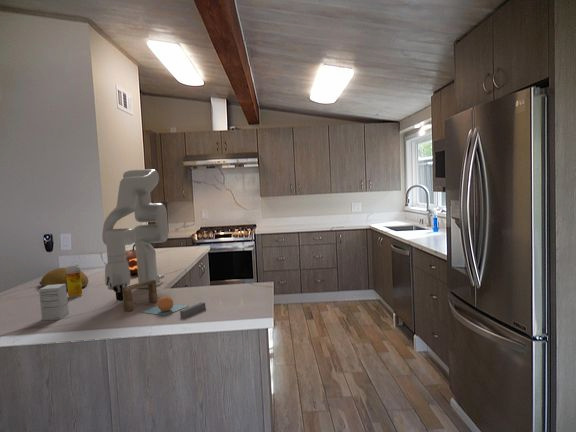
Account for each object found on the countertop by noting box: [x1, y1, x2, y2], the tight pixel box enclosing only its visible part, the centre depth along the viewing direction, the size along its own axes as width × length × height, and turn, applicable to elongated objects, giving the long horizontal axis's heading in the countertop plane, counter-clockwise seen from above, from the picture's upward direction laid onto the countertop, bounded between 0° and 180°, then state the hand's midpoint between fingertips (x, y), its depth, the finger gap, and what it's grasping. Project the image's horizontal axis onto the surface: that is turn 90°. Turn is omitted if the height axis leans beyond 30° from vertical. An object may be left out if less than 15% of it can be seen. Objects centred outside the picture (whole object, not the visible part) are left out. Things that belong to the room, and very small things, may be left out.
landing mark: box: [141, 303, 190, 317], centre depth 166 cm, size 13×13×1 cm
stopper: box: [179, 302, 207, 319], centre depth 158 cm, size 12×2×2 cm, turn 151°
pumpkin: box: [126, 243, 138, 276], centre depth 250 cm, size 25×25×19 cm
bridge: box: [122, 280, 158, 313], centre depth 172 cm, size 3×15×10 cm, turn 151°
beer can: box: [65, 264, 83, 299], centre depth 197 cm, size 6×6×15 cm
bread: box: [40, 267, 89, 291], centre depth 224 cm, size 18×35×10 cm, turn 52°
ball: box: [157, 295, 174, 312], centre depth 163 cm, size 6×6×6 cm
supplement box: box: [38, 284, 69, 321], centre depth 163 cm, size 7×7×13 cm
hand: (120, 300), depth 179 cm, fingers closed
